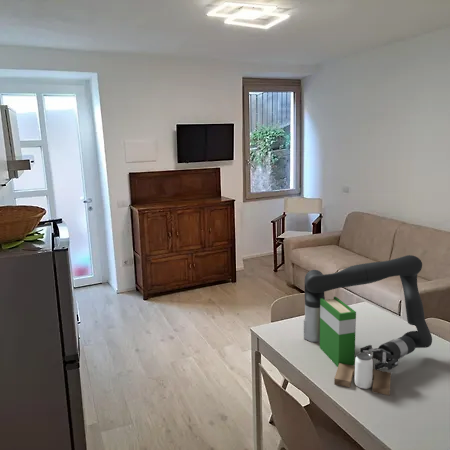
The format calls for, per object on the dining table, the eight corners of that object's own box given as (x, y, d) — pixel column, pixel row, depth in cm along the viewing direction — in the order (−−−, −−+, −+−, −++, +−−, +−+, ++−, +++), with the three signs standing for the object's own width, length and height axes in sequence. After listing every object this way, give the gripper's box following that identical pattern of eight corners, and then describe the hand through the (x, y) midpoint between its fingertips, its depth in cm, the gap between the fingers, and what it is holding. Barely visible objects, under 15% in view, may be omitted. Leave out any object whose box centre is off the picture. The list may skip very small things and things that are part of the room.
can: (373, 390, 154) (374, 361, 152) (355, 388, 155) (356, 360, 153) (370, 380, 160) (372, 352, 158) (353, 379, 162) (354, 351, 159)
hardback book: (319, 347, 187) (320, 298, 182) (334, 345, 188) (335, 296, 183) (338, 367, 170) (339, 314, 165) (354, 365, 171) (356, 312, 166)
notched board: (334, 384, 159) (334, 378, 158) (339, 368, 169) (339, 362, 169) (389, 395, 150) (389, 389, 150) (390, 378, 161) (391, 372, 161)
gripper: (379, 335, 171) (352, 345, 162) (409, 349, 158) (382, 361, 150) (378, 351, 172) (351, 363, 164) (408, 366, 160) (381, 379, 152)
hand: (366, 362), depth 157 cm, fingers open, 8 cm apart
